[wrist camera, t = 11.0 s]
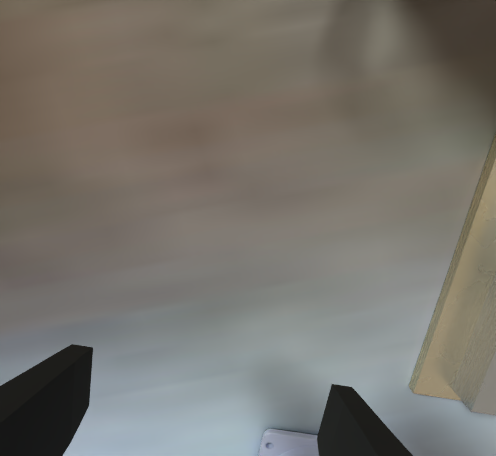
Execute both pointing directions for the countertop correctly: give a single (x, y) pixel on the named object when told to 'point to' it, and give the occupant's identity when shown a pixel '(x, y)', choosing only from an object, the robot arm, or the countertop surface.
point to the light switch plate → (466, 312)
